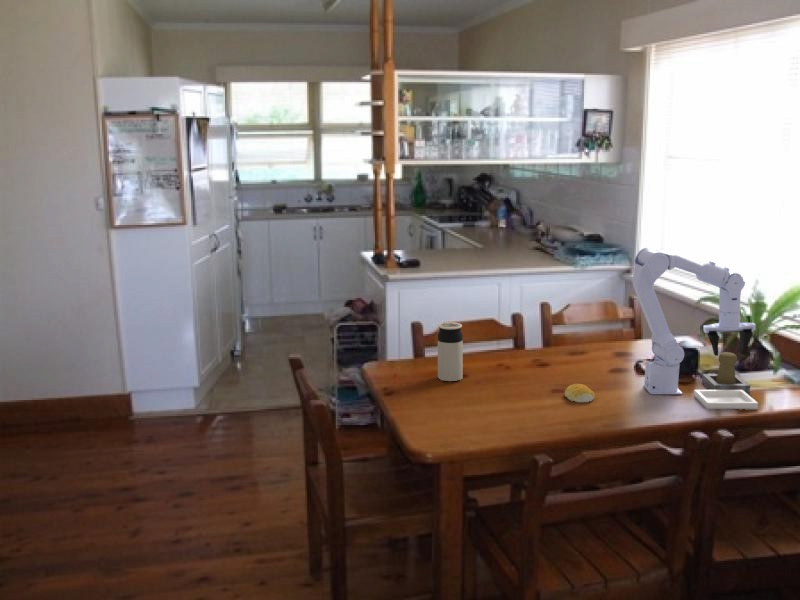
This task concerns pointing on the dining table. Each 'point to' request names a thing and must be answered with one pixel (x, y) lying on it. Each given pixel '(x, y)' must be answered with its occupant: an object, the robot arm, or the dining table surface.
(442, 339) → the travel mug
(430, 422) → the dining table surface
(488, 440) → the dining table surface
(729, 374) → the cork
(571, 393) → the bread roll
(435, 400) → the dining table surface
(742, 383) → the holder
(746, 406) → the tray
